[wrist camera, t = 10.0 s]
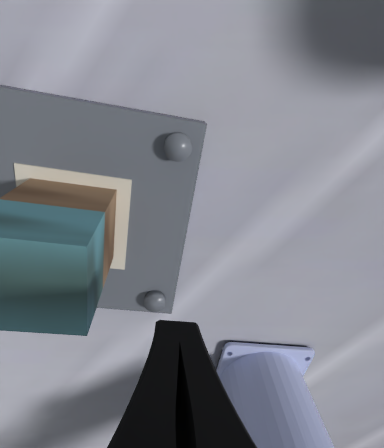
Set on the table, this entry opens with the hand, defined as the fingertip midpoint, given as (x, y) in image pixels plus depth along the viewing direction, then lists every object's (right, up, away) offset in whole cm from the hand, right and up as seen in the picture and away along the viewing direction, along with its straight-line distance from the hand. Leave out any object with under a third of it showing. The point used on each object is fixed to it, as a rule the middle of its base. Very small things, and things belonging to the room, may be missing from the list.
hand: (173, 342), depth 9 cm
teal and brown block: (-6, +4, +6) cm, 10 cm away
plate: (-6, +5, +8) cm, 11 cm away
